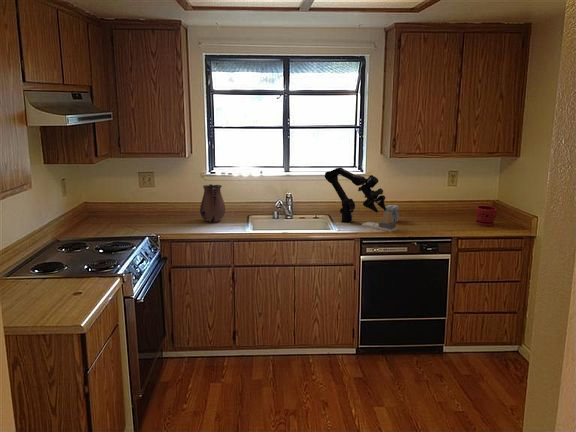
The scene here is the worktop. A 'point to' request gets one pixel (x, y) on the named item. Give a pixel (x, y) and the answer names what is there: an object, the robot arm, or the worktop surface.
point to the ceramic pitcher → (212, 203)
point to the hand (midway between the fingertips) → (381, 211)
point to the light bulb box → (393, 212)
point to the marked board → (377, 226)
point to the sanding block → (387, 221)
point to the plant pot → (485, 215)
